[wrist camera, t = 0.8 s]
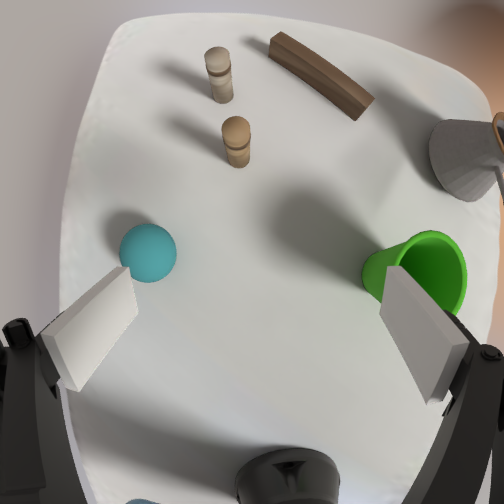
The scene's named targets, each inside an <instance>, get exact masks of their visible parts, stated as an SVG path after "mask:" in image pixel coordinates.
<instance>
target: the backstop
mask: <svg viewBox="0 0 504 504" xmlns="http://www.w3.org/2000/svg"><path fill="white" fill-rule="evenodd" d="M269 58H271V59H272V60H274V61H276V62H277V63H279V64H280V65H282V66H283V67H285V68H286V69H288V70H289V71H291V72H292V73H294V74H295V75H296V76H298V77H299V78H301V79H302V80H303V81H305V82H306V83H308V84H309V85H310V86H312V87H313V88H314V89H316V90H317V91H318V92H320V93H321V94H322V95H324V96H325V97H326V98H327V99H329V100H330V101H331V102H333V103H334V104H335V105H336V106H338V107H339V108H340V109H341V110H342V111H344V112H345V113H346V114H347V115H348V116H350V117H351V118H352V119H353V120H354V121H356V120H357V119H358V118H359V117H360V116H361V114H362V113H363V112H364V111H365V110H366V109H367V108H368V106H369V105H370V104H371V103H372V102H373V101H374V99H375V98H374V97H373V96H372V95H370V94H369V93H368V92H367V91H366V90H364V89H363V88H362V87H361V86H360V85H358V84H357V83H356V82H355V81H353V80H352V79H351V78H350V77H348V76H347V75H346V74H344V73H343V72H342V71H340V70H339V69H338V68H336V67H335V66H334V65H332V64H331V63H329V62H328V61H327V60H325V59H324V58H322V57H321V56H319V55H318V54H316V53H315V52H313V51H312V50H310V49H309V48H307V47H306V46H304V45H303V44H301V43H299V42H298V41H296V40H295V39H293V38H291V37H290V36H288V35H286V34H285V33H283V32H279V33H278V34H276V35H275V36H274V37H272V38H271V39H270V48H269Z"/></svg>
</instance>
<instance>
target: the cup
mask: <svg viewBox="0 0 504 504" xmlns="http://www.w3.org/2000/svg"><path fill="white" fill-rule="evenodd" d="M387 266H401V267H402V268H403V269H404V270H405V271H406V272H407V273H408V274H409V275H410V276H411V277H412V278H413V279H414V280H415V281H416V282H417V283H418V284H419V285H420V286H421V287H422V288H423V289H424V290H425V292H426V293H427V294H428V295H429V296H430V297H431V298H432V299H433V300H434V301H435V302H436V303H437V305H438V306H439V307H440V308H441V309H442V310H445V309H446V310H447V311H449V312H451V313H452V314H454V315H455V316H456V314H457V313H458V311H459V309H460V307H461V305H462V302H463V300H464V297H465V292H466V288H467V269H466V263H465V260H464V257H463V254H462V252H461V250H460V249H459V247H458V245H457V244H456V243H455V242H454V241H453V240H452V239H451V238H450V237H449V236H447V235H445V234H444V233H442V232H439V231H433V230H429V231H423V232H420V233H418V234H416V235H414V236H412V237H411V238H410V239H409V240H408V241H407V242H404V243H401V244H399V245H396V246H393V247H390V248H388V249H385V250H382V251H379V252H377V253H375V254H373V255H371V256H370V257H369V258H368V259H367V261H366V262H365V264H364V266H363V270H362V281H363V284H364V286H365V288H366V290H367V291H368V292H369V293H370V294H371V295H372V296H373V297H375V298H376V299H377V300H378V301H379V302H380V303H382V297H383V292H384V285H385V279H386V272H387Z"/></svg>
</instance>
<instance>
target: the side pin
mask: <svg viewBox="0 0 504 504" xmlns="http://www.w3.org/2000/svg"><path fill="white" fill-rule="evenodd" d="M204 58H205V62H206V69H207V72H208V75H209V80H210V84H211V88H212V93H213V97H214V100H215V101H216V102H217V103H220V104H225V103H228V102H230V101H231V100H232V98H233V86H232V76H231V61H230V55H229V51H228V50H227V49H226V48H223V47H213V48H211V49H209V50H208V51H207V52H206V53H205V55H204Z"/></svg>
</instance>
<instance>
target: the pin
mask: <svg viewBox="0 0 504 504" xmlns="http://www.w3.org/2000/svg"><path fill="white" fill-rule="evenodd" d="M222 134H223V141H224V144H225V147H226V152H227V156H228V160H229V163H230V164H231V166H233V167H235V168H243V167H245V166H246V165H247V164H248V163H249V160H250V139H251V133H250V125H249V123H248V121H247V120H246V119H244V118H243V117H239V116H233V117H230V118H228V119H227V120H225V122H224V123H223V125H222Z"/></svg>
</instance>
